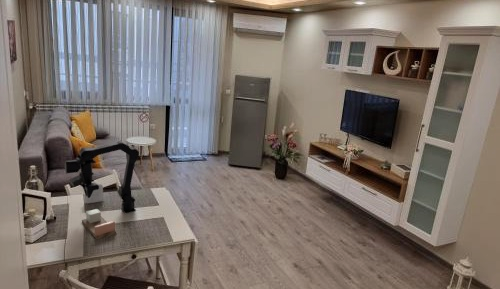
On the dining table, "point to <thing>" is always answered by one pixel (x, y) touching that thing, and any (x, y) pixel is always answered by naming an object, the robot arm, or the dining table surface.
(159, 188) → the dining table surface
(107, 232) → the brown boxy piece
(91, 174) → the robot arm
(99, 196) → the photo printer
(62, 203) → the dining table surface
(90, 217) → the pale sage green cube
